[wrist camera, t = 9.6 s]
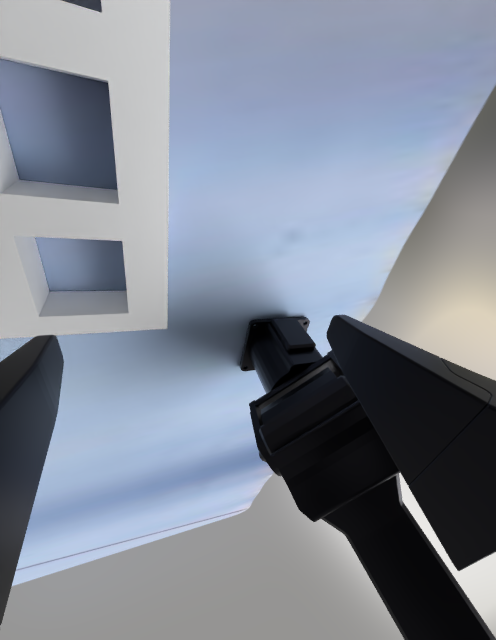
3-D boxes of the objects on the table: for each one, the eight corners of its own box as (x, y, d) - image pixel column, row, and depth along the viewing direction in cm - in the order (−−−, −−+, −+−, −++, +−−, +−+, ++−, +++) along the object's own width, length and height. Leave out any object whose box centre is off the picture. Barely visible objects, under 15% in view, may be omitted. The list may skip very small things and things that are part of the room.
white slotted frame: (163, 306, 22) (167, 328, 20) (11, 311, 19) (-5, 339, 17) (163, -202, 10) (172, -289, 8) (-283, -466, 6) (-502, -765, 4)
